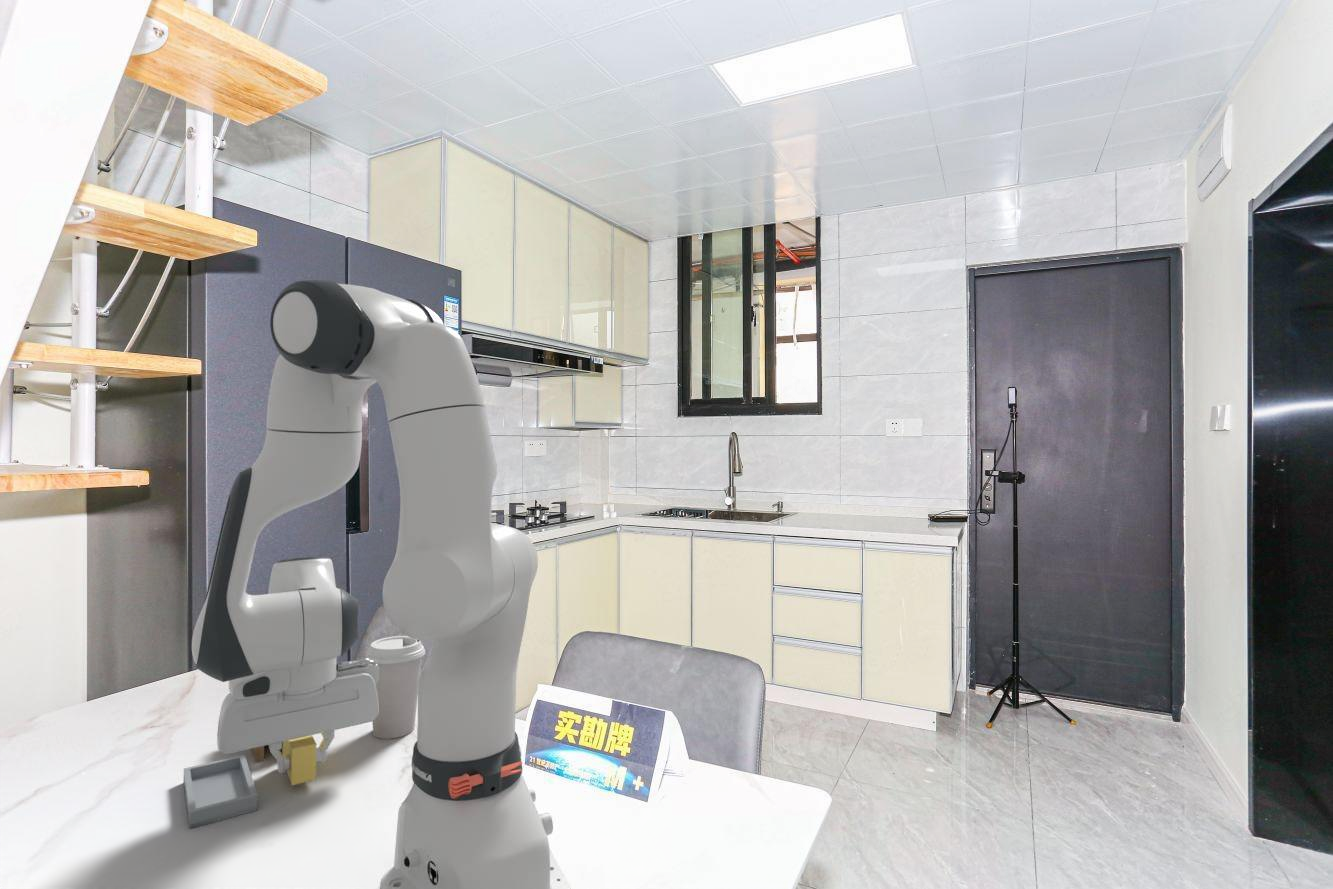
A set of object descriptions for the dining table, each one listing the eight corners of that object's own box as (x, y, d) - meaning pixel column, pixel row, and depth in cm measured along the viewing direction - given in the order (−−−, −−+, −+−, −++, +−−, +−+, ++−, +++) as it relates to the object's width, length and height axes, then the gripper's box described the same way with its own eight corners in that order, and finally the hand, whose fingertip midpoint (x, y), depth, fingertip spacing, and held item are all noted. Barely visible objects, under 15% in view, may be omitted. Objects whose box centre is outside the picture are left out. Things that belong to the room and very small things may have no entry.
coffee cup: (410, 743, 110) (412, 651, 110) (352, 742, 110) (354, 650, 110) (432, 719, 119) (433, 635, 119) (378, 718, 119) (380, 633, 120)
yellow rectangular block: (315, 779, 95) (316, 742, 95) (291, 785, 93) (292, 748, 93) (304, 753, 103) (305, 719, 103) (282, 758, 101) (282, 724, 101)
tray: (257, 810, 89) (257, 795, 89) (189, 828, 85) (189, 812, 85) (244, 768, 100) (244, 754, 101) (183, 782, 96) (183, 768, 96)
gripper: (374, 650, 105) (374, 740, 105) (216, 677, 93) (216, 777, 93) (384, 661, 100) (384, 754, 100) (218, 690, 88) (218, 796, 87)
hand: (301, 766), depth 96 cm, fingers closed on yellow rectangular block, 3 cm apart
